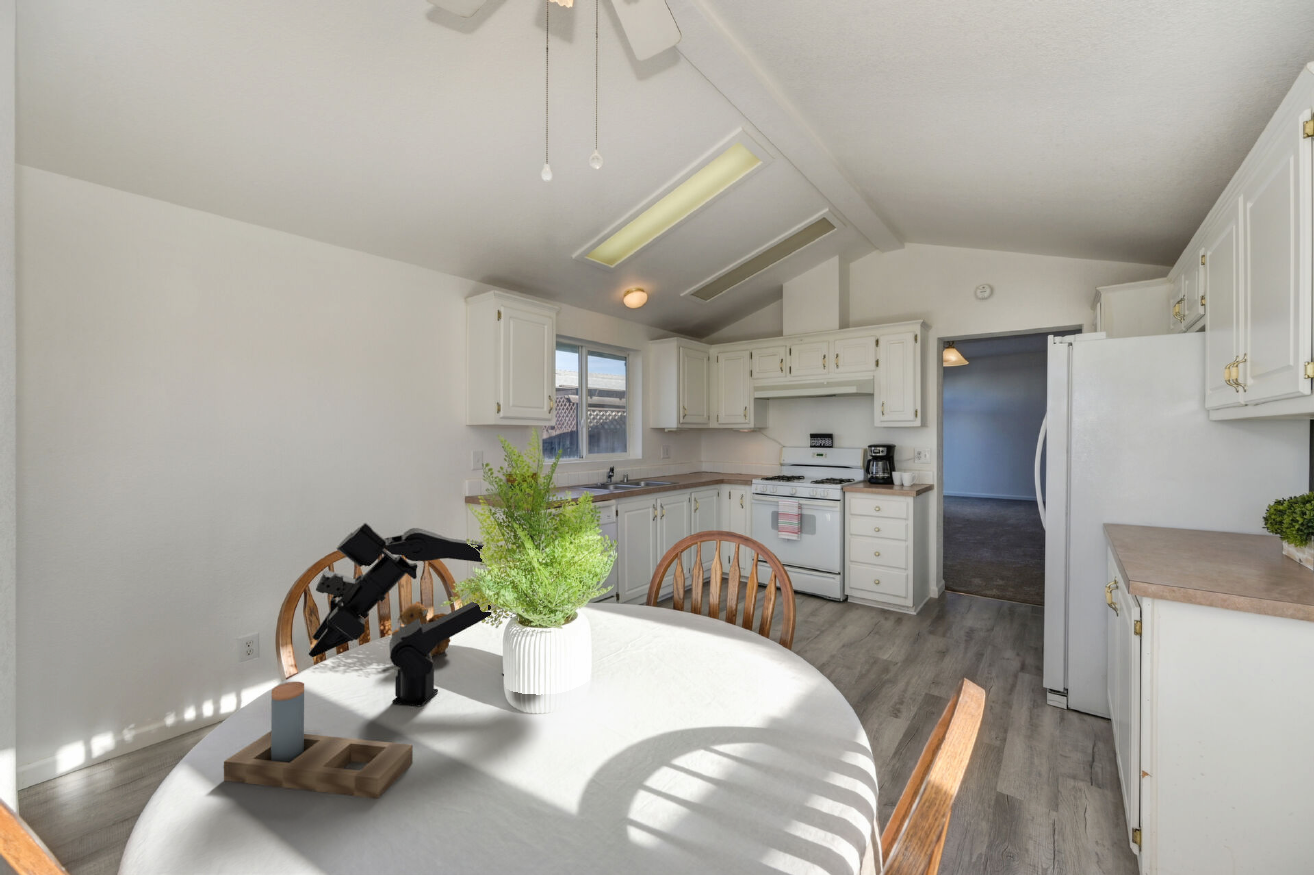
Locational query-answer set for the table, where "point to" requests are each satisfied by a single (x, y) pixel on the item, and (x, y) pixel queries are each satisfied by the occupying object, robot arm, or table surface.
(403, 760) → the wooden peg holder
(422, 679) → the robot arm
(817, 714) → the table surface
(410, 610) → the stuffed squirrel
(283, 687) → the peg
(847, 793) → the table surface
